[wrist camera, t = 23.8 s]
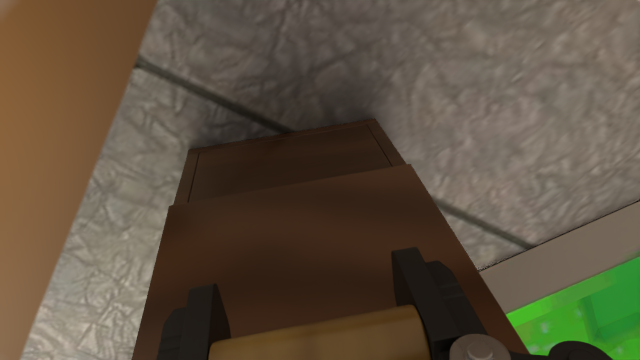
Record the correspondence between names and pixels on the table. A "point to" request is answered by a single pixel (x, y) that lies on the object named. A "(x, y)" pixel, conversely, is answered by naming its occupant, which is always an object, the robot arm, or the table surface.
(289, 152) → the chest
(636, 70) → the table surface
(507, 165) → the table surface
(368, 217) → the lid
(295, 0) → the table surface
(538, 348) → the tray
